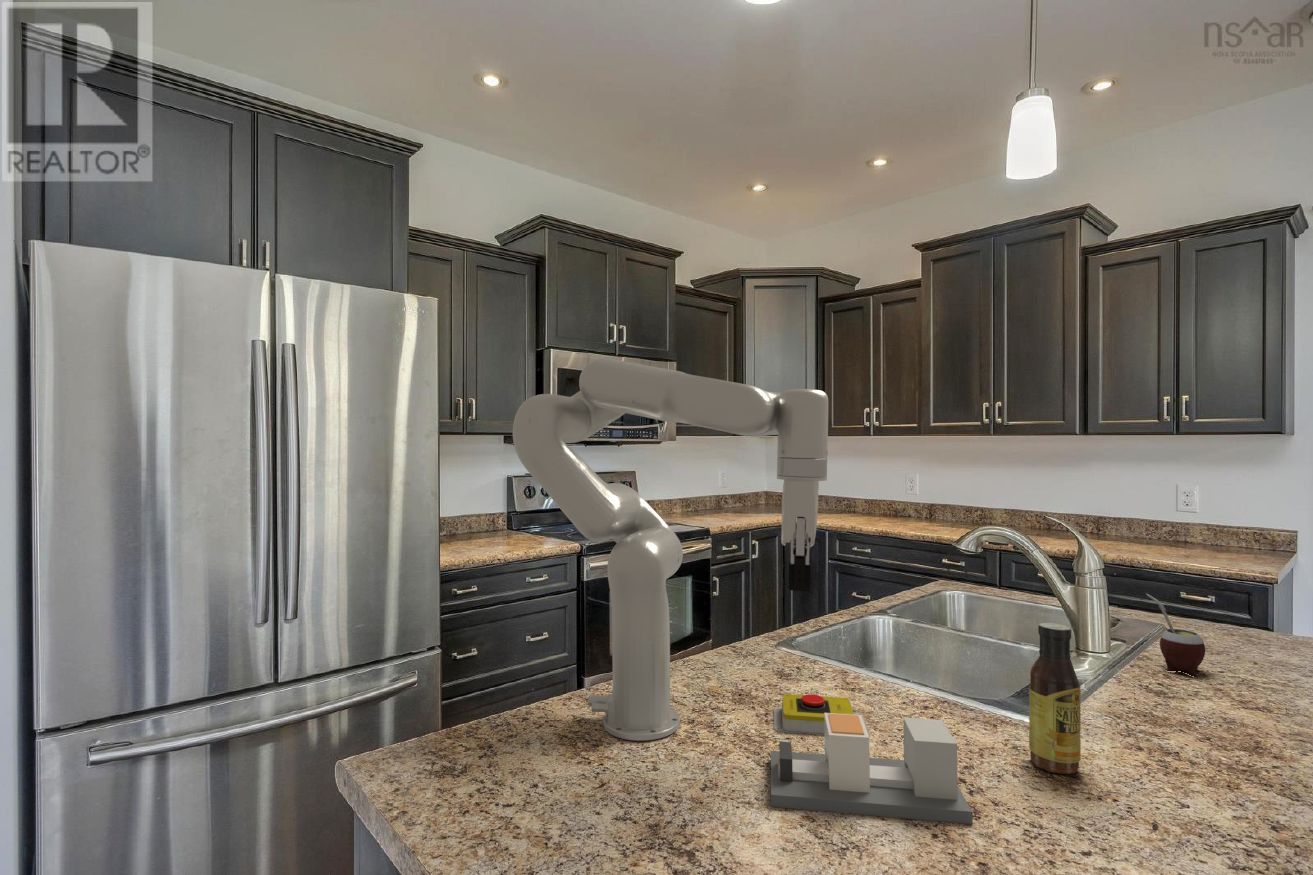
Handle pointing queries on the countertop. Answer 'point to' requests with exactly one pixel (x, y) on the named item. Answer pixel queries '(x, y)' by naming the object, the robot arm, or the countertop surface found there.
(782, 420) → the robot arm
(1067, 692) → the sauce bottle
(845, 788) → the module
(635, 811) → the countertop surface
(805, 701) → the emergency button
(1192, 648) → the mate gourd
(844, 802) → the rail board
